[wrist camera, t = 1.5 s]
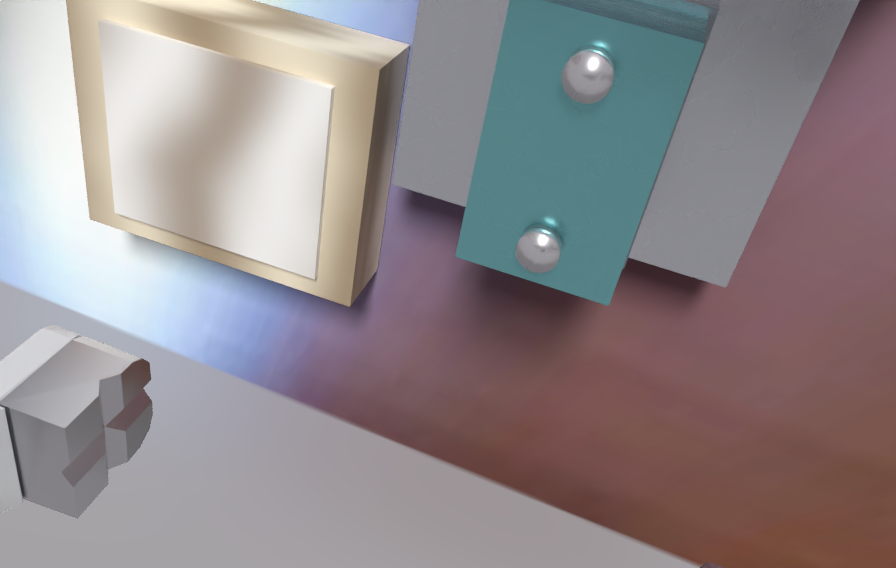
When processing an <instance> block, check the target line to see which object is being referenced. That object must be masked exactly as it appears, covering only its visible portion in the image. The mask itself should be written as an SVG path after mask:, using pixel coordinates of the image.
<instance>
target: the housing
mask: <svg viewBox="0 0 896 568" xmlns="http://www.w3.org/2000/svg"><path fill="white" fill-rule="evenodd" d="M719 5H720V0H510V1H509V5H508V10H507V15H506V19H505V24H504V29H503V33H502V38H501V43H500V48H499V52H498V57H497V62H496V66H495V71H494V76H493V81H492V85H491V90H490V95H489V99H488V104H487V109H486V114H485V118H484V123H483V128H482V132H481V137H480V142H479V147H478V151H477V156H476V161H475V165H474V170H473V175H472V179H471V184H470V189H469V194H468V198H467V203H466V208H465V212H464V217H463V222H462V227H461V231H460V236H459V241H458V245H457V250H456V255H455V257H458V258H461V259H464V260H467V261H470V262H473V263H476V264H479V265H483V266H486V267H489V268H492V269H495V270H498V271H501V272H504V273H508V274H511V275H514V276H517V277H520V278H523V279H526V280H529V281H532V282H536V283H539V284H542V285H545V286H548V287H551V288H554V289H557V290H561V291H564V292H567V293H570V294H573V295H576V296H579V297H582V298H586V299H589V300H592V301H595V302H598V303H601V304H604V305H607V306H609V304H610V301H611V298H612V295H613V293H614V290H615V287H616V285H617V282H618V279H619V276H620V274H621V271H622V269H624V268H625V265H626V262H627V260H628V257H629V254H630V251H631V249H632V246H633V243H634V241H635V238H636V235H637V232H638V230H639V227H640V224H641V221H642V219H643V216H644V213H645V211H646V208H647V205H648V202H649V200H650V197H651V194H652V191H653V189H654V186H655V183H656V181H657V178H658V175H659V172H660V170H661V167H662V164H663V161H664V159H665V156H666V153H667V151H668V148H669V145H670V142H671V140H672V137H673V134H674V131H675V129H676V126H677V123H678V121H679V118H680V115H681V112H682V110H683V107H684V104H685V102H686V99H687V96H688V93H689V91H690V88H691V85H692V82H693V80H694V77H695V74H696V72H697V69H698V66H699V63H700V61H701V58H702V55H703V52H704V50H705V47H706V44H707V42H708V39H709V36H710V33H711V31H712V28H713V25H714V22H715V20H716V17H717V14H718V12H719Z"/></svg>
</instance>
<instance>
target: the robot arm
mask: <svg viewBox="0 0 896 568" xmlns="http://www.w3.org/2000/svg"><path fill="white" fill-rule="evenodd" d="M150 380H151V374H150V364H149V362H147V361H146V360H144V359H142V358H139V357H137V356H134V355H132V354H129V353H126V352H124V351H121V350H119V349H116V348H114V347H111V346H109V345H106V344H104V343H101V342H99V341H96V340H93V339H91V338H88V337H86V336H82V335H79V334H77V333H74V332H72V331H69V330H66V329H64V328H61V327H59V326H56V325H51V326H48V327H44V328H42V329H40V330H39V331H37V332H36V333H35V334H34V335H32V336H31V337H30V338H29V339H28V340H26V341H25V342H24V343H22V344H21V345H20V346H19V347H17V348H16V349H15V350H14V351H12V352H11V353H10V354H8V355H7V356H6V357H5V358H4V359H2V360H1V361H0V513H3V512H4V511H7V510H9V509H11V508H13V507H15V506H17V505H19V504H21V503H22V502H23V499H25V500H28V501H31V502H34V503H36V504H39V505H42V506H45V507H48V508H50V509H53V510H56V511H58V512H61V513H64V514H67V515H69V516H72V517H75V518H78V517H79V516H80V515H81V514H82V513H83V512H84V511H85V510H86V508H87V507H88V506H89V505H90V504H91V503H92V502H93V501H94V499H95V498H96V497H97V496H98V495H99V494H100V493H101V491H102V490H103V489H104V488H105V487H106V486H107V485H108V469H110V468H112V467H115V466H118V465H121V464H123V463H126V462H128V461H129V460H130V458H131V457H132V456H133V455H134V454H135V452H136V451H137V450H138V449H139V448H140V446H141V444H142V442H143V440H144V438H145V436H146V434H147V432H148V430H149V428H150V424H151V419H152V413H153V412H152V401H151V399H150V398H149V396H148V395H147V394H146V392H145V391H144V389H143V388H144V386H145V385H146V384H147V383H148V382H149V381H150ZM700 568H724V567H721V566H718V565H715V564H713V563H710V562H706V563H705V564H703V565H702V566H701V567H700Z"/></svg>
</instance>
